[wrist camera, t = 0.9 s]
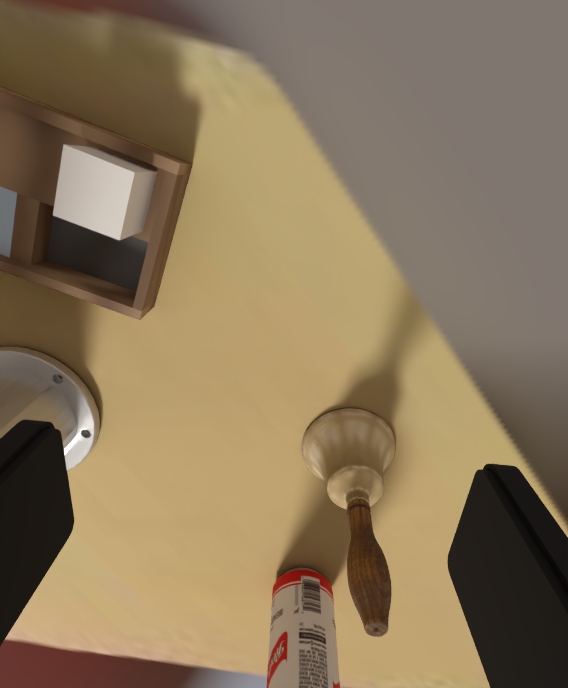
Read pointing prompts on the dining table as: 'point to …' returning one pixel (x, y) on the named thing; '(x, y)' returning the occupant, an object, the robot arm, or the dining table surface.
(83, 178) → the block
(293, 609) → the beer can
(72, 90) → the dining table surface
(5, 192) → the bay
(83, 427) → the robot arm
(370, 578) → the hand bell
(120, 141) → the tray
